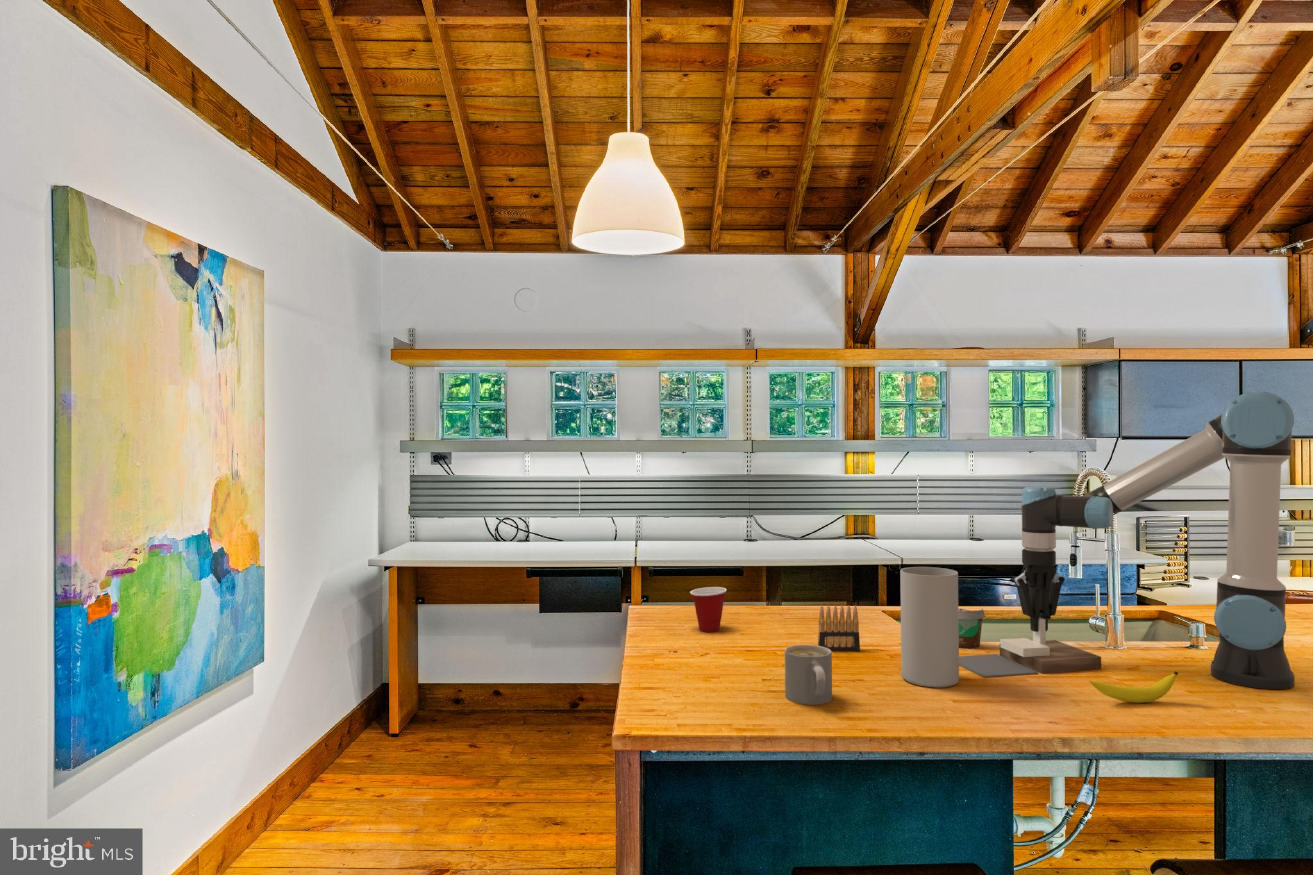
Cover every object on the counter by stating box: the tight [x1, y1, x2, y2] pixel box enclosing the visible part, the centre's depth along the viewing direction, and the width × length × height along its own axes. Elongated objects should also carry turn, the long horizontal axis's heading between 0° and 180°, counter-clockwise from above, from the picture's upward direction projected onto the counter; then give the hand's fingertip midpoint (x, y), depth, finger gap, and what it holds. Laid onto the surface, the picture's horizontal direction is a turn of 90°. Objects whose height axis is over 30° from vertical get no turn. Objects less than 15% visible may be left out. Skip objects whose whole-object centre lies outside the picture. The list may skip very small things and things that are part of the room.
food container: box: [958, 608, 986, 650], centre depth 206 cm, size 12×6×10 cm, turn 62°
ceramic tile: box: [999, 637, 1050, 657], centre depth 190 cm, size 9×7×2 cm
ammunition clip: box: [817, 604, 861, 653], centre depth 203 cm, size 11×2×12 cm, turn 88°
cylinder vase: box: [899, 566, 960, 689], centre depth 178 cm, size 12×12×25 cm
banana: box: [1089, 671, 1179, 704], centre depth 161 cm, size 3×19×6 cm, turn 93°
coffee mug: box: [784, 644, 833, 706], centre depth 165 cm, size 13×10×10 cm
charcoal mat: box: [959, 653, 1039, 679], centre depth 188 cm, size 16×14×1 cm
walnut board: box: [999, 639, 1102, 675], centre depth 191 cm, size 16×16×3 cm
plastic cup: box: [689, 586, 727, 633], centre depth 227 cm, size 11×11×12 cm
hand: (1039, 644), depth 191 cm, fingers closed
